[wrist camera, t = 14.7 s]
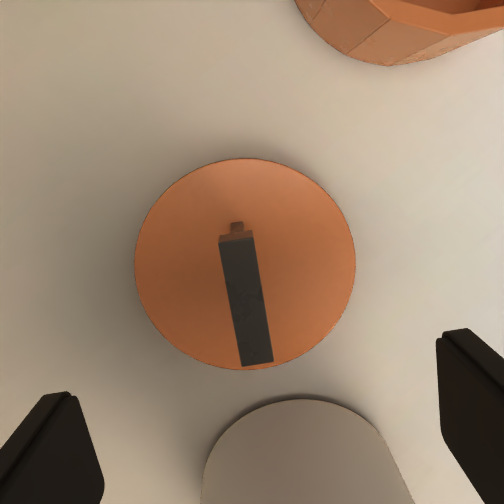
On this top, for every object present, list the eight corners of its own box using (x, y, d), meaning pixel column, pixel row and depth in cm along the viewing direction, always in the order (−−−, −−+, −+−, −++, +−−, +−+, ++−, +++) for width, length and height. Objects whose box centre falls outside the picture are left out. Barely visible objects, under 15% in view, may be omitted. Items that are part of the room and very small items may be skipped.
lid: (164, 375, 26) (143, 442, 20) (115, 177, 23) (73, 191, 17) (360, 343, 26) (394, 401, 20) (338, 140, 22) (372, 140, 17)
